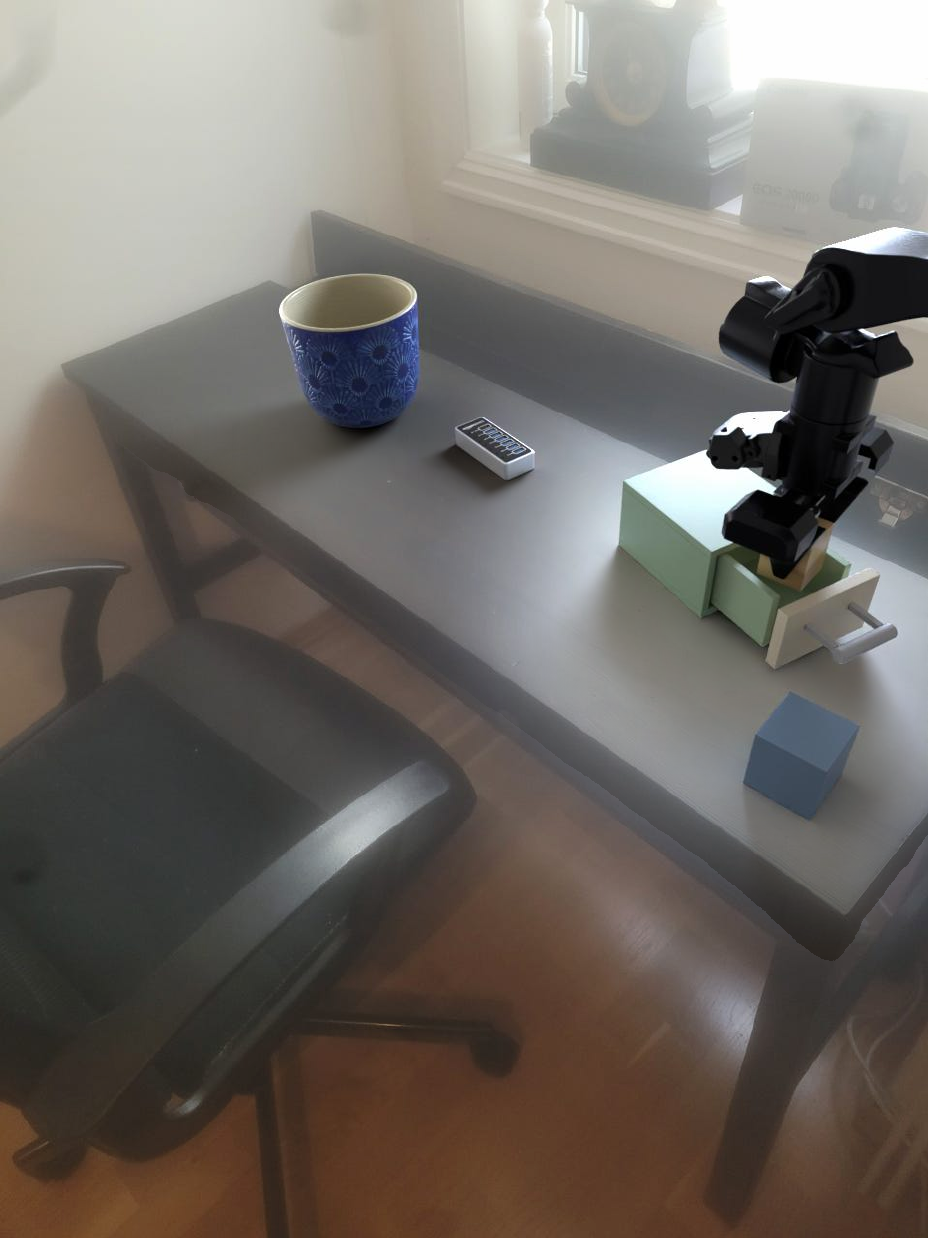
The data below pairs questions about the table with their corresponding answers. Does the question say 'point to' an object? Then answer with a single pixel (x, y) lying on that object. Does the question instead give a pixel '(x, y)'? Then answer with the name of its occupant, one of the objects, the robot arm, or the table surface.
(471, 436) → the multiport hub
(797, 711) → the block
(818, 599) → the drawer
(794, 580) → the block
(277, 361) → the table surface
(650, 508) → the cabinet
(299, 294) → the planter
